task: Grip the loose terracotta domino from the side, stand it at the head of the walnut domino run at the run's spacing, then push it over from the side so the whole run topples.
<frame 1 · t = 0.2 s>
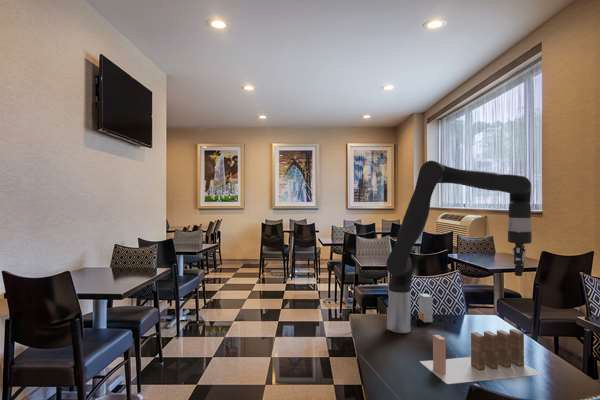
hand: (519, 273, 132), 29 cm above the table, tool pointing down, fingers open, 8 cm apart
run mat: (479, 369, 119), on the table
domino 2: (477, 367, 119), point 1 cm above the table, touching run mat
domino 4: (504, 365, 120), point 1 cm above the table, touching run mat
skincare box: (425, 320, 170), on the table
domino 5: (516, 364, 121), point 1 cm above the table, touching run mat
domino 3: (490, 366, 120), point 1 cm above the table, touching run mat
loose domino: (439, 371, 116), point 1 cm above the table, touching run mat
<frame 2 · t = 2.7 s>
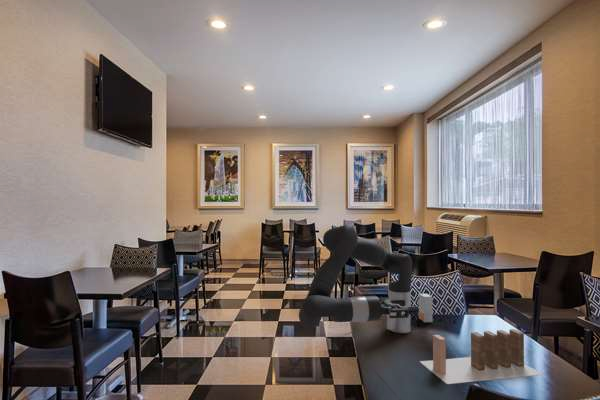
hand: (411, 306, 114), 22 cm above the table, tool horizontal, fingers open, 8 cm apart
nothing on the table moved.
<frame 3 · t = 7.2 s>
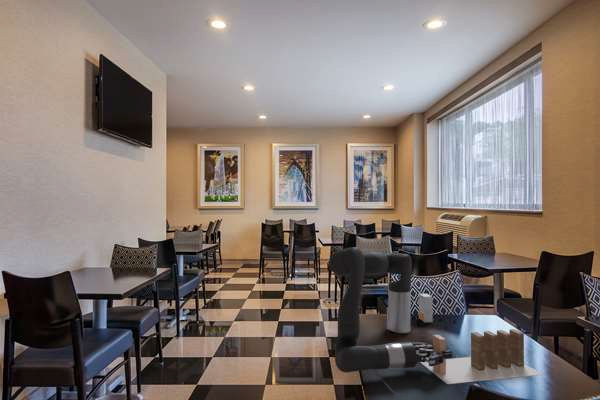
hand: (446, 351, 117), 7 cm above the table, tool horizontal, fingers closed on loose domino, 4 cm apart
loose domino: (439, 371, 116), point 1 cm above the table, touching gripper, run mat
everything else where it was.
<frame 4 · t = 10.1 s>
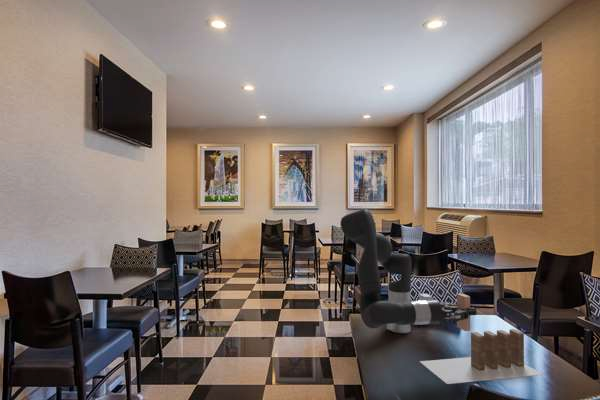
hand: (470, 309, 118), 20 cm above the table, tool horizontal, fingers closed on loose domino, 4 cm apart
loose domino: (463, 328, 118), point 14 cm above the table, touching gripper
everything else where it was.
when the fingers open (8 cm above the table, at t = 12.8 s): loose domino stays where it is, resting on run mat.
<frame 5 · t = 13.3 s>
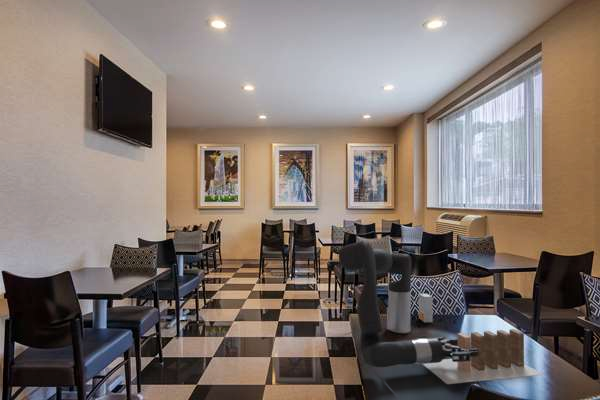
hand: (469, 347, 118), 8 cm above the table, tool horizontal, fingers open, 8 cm apart
loose domino: (464, 369, 118), point 1 cm above the table, touching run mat
everything else where it was.
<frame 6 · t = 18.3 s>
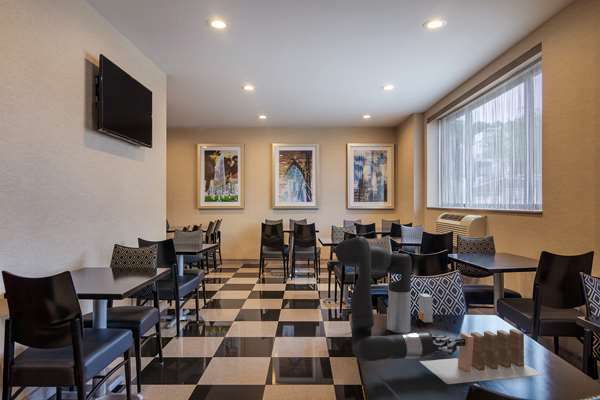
hand: (463, 341, 118), 10 cm above the table, tool horizontal, fingers closed
loose domino: (464, 368, 118), point 1 cm above the table, tilted 6°, touching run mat
everything else where it was.
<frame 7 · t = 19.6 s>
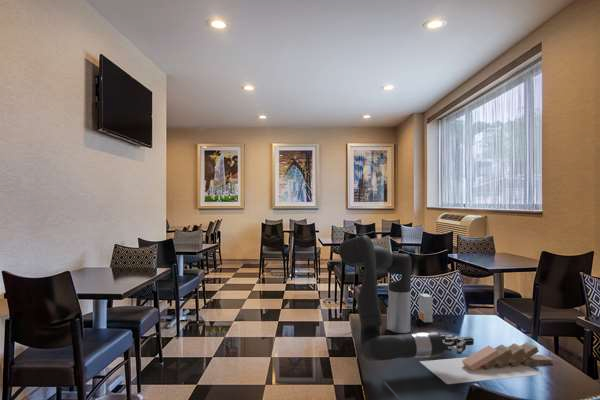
hand: (472, 340, 118), 10 cm above the table, tool horizontal, fingers closed
domino 2: (480, 364, 119), point 2 cm above the table, tilted 67°, touching domino 3, loose domino
domino 4: (507, 362, 121), point 2 cm above the table, tilted 67°, touching domino 3, domino 5
domino 5: (520, 360, 122), point 2 cm above the table, tilted 94°, touching domino 4, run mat
domino 3: (494, 363, 120), point 2 cm above the table, tilted 67°, touching domino 2, domino 4, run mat
loose domino: (466, 365, 118), point 2 cm above the table, tilted 67°, touching domino 2, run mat
everything else where it was.
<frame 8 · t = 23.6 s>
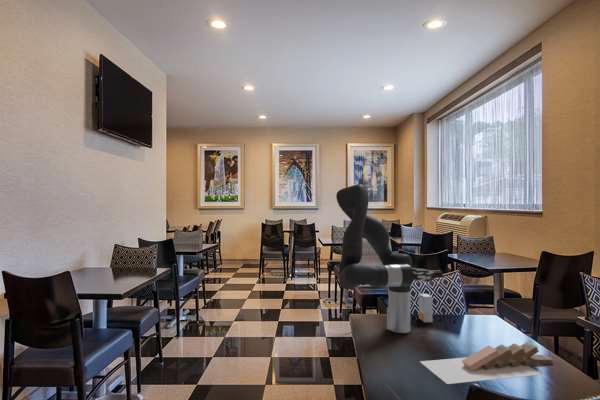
hand: (441, 273, 128), 30 cm above the table, tool horizontal, fingers closed
nothing on the table moved.
at the end: domino 5 tilted 94°; loose domino tilted 67°; loose domino inside the target area (0.1 cm from its centre), point 1.5 cm above the table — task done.
